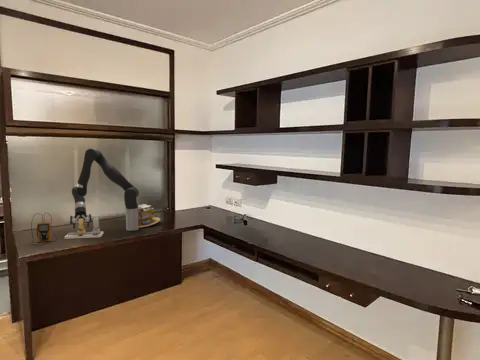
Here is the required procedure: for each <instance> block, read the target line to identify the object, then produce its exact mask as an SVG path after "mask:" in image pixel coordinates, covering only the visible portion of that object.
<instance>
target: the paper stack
mask: <svg viewBox="0 0 480 360" xmlns="http://www.w3.org/2000/svg"><path fill="white" fill-rule="evenodd" d="M154 212H155V209H154V207H152V205H149V204H145V203H142V204H138V217H139V228H145V227H149V226H152V225H155V224H157V223H159V222H160V221H161V218H160V217H155V213H154Z"/></svg>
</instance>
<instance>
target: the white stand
mask: <svg viewBox="0 0 480 360" xmlns="http://www.w3.org/2000/svg"><path fill="white" fill-rule="evenodd" d="M99 220H100V219H99V218H98V217H94V218H93V217H92V222H93V223H92V224H93V225H92V227H93V229H92V231H85V233H81V235H80V234H79V233H77V232H68V233H67V234H66V235H64V239H65V240H66V239H68V240H72V239H87V238H88V239H89V238H102V237H103V235H104V233H105V231H101V228H100V223H99Z"/></svg>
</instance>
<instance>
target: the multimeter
mask: <svg viewBox="0 0 480 360" xmlns="http://www.w3.org/2000/svg"><path fill="white" fill-rule="evenodd" d="M37 214H39V215H41V216H42V217H41V219H42V220H41V222H38V223H36V236H37V241H38V242H39V243H36V242H35V243H34V241H32V242H31V244H32V245H33V244H34V245H38V246H39V245H43V244H45V243H46V242H51V243H53V242H55V240H54V241H51V239H52V237H51V236H52V234H51V230H52V232H53V235H54V236H55V239H56V240H58V238H57V236H56V234H55V232H54V229H52V228H53V227H51V224H52V221H53V220H52V215H51V214H50V213H49V212H47V214H48V215H49V216H50V221H46V220H45V217H44V215H45V214H46V212H44V214H43V215H42V213H38V212H37V213H36V215H37ZM34 218H35V215H32V220H31V221H33V220H34ZM30 225H31V226H30V227H31V230H30V231H33V227H32V226H33V222H31V224H30ZM31 236H32V238H34V235H33V233H31ZM41 242H42V243H41Z"/></svg>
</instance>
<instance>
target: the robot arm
mask: <svg viewBox="0 0 480 360" xmlns="http://www.w3.org/2000/svg"><path fill="white" fill-rule="evenodd" d="M93 162H96V163H97V164H98V165H99V167H100V168H101V170H102V172H103V173H104V175H105V176H106V177H107V178H108V180H110V181H111V182H113V183H114V184H116V185H117V186H119V187H120V188H121V189H123V191H124V195H123V197H124V206H125V223H126V224H125V226H126V228H125V229H126V231H129V232H132V231H138V230H139V228H140V227H139V217H138V205H139V204H138V202H137V198H138V197H139V196H140V191H139V188H137V187H136V186H134V185H133V184H132V183H131V182H130V181H129V180H128V179H127V178H126V177H125V176H124V175H123V174H122V173H121V172H120V171H119V169H118V168H117V167H115V166H114V165H113V164H112V163H111V162H110V161H109V160H108V159H107V158H106V157H105V155H104V154H103V153H102V152H101V150H99V149H98V148H96V147H90V148H87V149H86V150H85V152H84V158H83V164H82V167H81V171H80V174H79V177H78V180H77V184H78V185H80V186H73V187H72V189H71V194H72V197H73V200H74V215H70V216H69V218H70V219H69V224H70V225H72V228H73V229H74V230H75V229H76V223H78V219H80V218H83V219H84V223H86V227H87V228H88V229H89V227H90V224H91V223H92V222H93V217H92V214H91V213H90V214H87V205H86V199H85V196H86V195H87V194H88V184H89V182H90V181H89V180H90V178H91V170H92V166H93Z"/></svg>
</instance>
